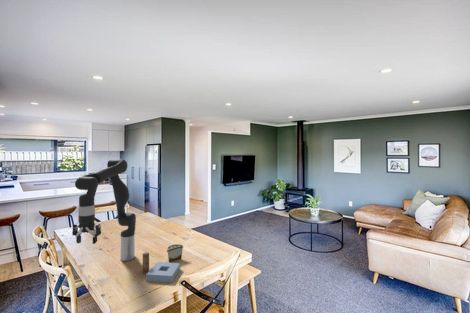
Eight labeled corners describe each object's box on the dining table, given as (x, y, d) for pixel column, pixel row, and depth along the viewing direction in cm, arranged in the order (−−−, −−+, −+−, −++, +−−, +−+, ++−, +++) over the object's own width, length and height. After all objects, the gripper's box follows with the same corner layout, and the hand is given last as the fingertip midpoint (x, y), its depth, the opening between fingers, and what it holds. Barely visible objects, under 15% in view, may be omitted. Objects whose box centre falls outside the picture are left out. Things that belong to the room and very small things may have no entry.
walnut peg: (144, 270, 153) (144, 252, 153) (150, 270, 153) (150, 252, 153) (141, 273, 149) (141, 254, 149) (147, 273, 149) (147, 255, 149)
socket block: (156, 267, 157) (157, 261, 157) (180, 269, 156) (180, 263, 156) (146, 280, 141) (146, 274, 141) (171, 282, 140) (171, 275, 140)
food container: (179, 255, 176) (179, 242, 175) (183, 258, 171) (183, 245, 171) (163, 260, 167) (163, 246, 167) (167, 263, 163) (167, 249, 163)
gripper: (103, 212, 129) (103, 240, 129) (78, 211, 129) (78, 240, 130) (95, 215, 122) (95, 246, 122) (68, 215, 122) (68, 245, 122)
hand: (86, 243), depth 126 cm, fingers open, 8 cm apart
